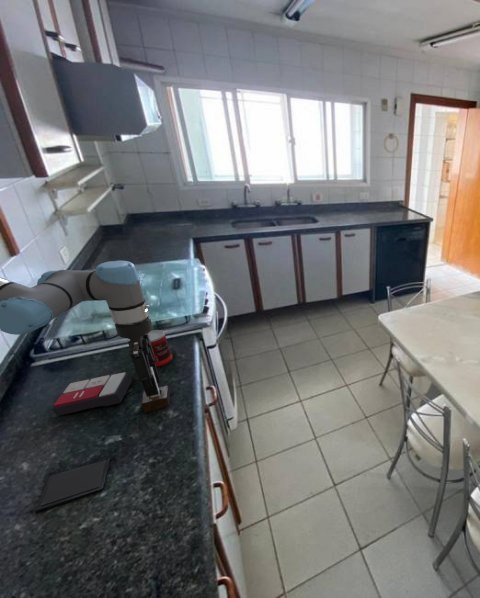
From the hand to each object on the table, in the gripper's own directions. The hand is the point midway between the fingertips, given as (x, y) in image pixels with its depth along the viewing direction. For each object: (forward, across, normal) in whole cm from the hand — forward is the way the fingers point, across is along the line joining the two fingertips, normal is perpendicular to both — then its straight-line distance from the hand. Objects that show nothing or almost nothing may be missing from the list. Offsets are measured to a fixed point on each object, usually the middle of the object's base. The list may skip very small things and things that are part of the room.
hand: (153, 388), depth 96 cm
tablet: (+6, -22, +14) cm, 27 cm away
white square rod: (+6, 0, 0) cm, 6 cm away
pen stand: (+6, 0, 0) cm, 6 cm away
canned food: (+6, +24, +1) cm, 25 cm away
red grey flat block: (+6, +10, +16) cm, 20 cm away
